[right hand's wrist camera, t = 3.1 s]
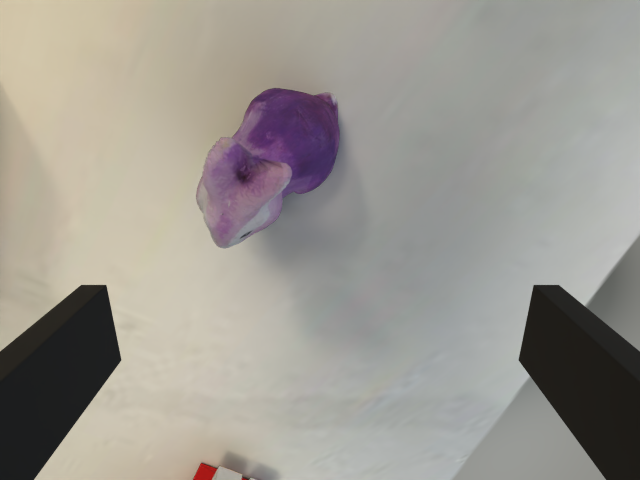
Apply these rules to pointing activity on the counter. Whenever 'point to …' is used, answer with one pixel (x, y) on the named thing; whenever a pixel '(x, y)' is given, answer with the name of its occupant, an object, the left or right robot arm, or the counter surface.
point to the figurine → (267, 162)
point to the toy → (217, 473)
